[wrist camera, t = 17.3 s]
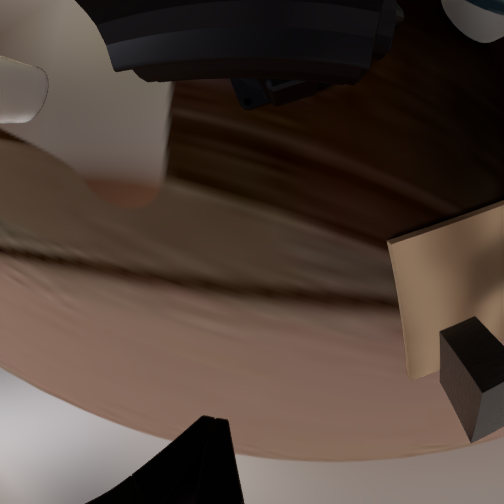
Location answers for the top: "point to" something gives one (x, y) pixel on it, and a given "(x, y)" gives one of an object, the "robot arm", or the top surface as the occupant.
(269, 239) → the top surface
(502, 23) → the lotion bottle
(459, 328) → the shaft
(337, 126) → the top surface
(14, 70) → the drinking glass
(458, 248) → the shaft stand
